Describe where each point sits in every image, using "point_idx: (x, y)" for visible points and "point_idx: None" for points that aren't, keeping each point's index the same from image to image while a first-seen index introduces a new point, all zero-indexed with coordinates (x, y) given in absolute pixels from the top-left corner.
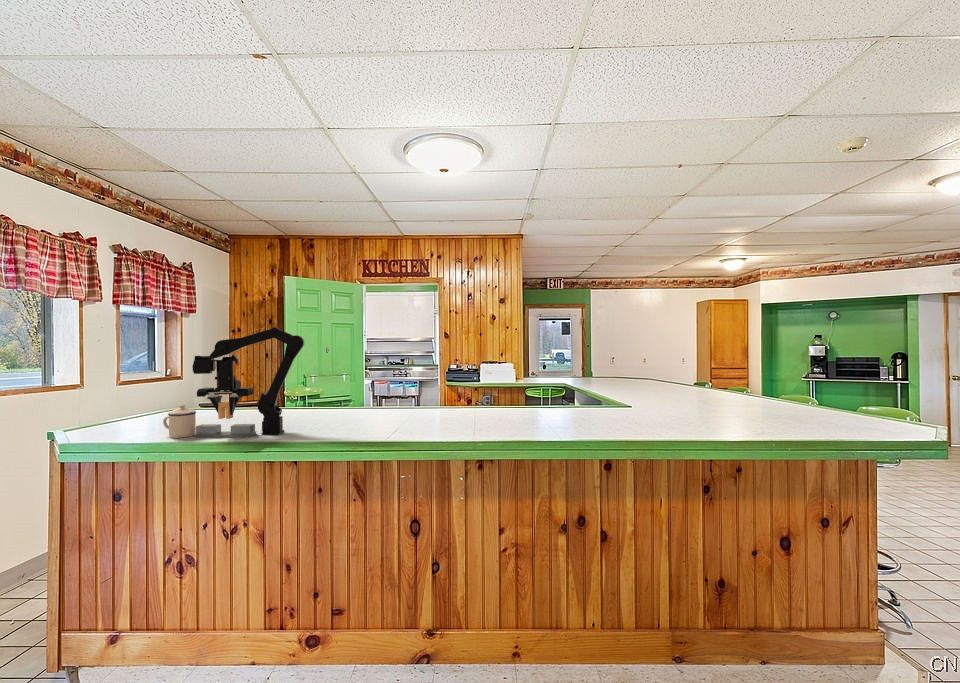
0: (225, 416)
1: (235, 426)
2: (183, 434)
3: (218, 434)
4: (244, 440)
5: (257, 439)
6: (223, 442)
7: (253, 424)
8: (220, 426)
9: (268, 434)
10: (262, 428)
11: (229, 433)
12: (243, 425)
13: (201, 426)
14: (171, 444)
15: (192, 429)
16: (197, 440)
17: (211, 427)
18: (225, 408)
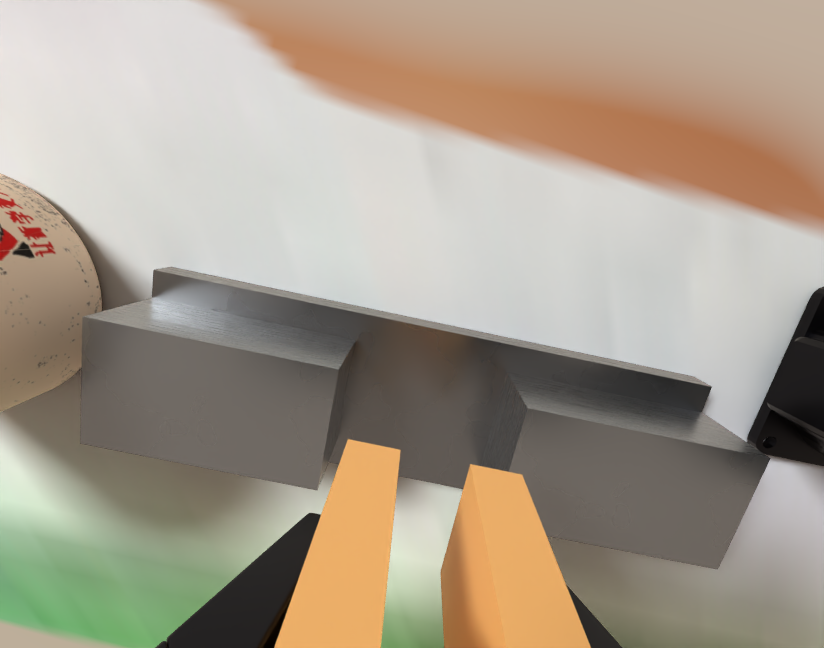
0: (398, 467)
1: (546, 531)
2: (30, 398)
3: None
4: (612, 608)
5: (710, 598)
6: None
7: (751, 485)
8: (341, 373)
9: (812, 460)
10: (804, 425)
11: (459, 431)
12: (636, 522)
13: (149, 456)
14: (103, 610)
15: (47, 351)
16: (236, 524)
17: (272, 471)
18: (386, 579)
